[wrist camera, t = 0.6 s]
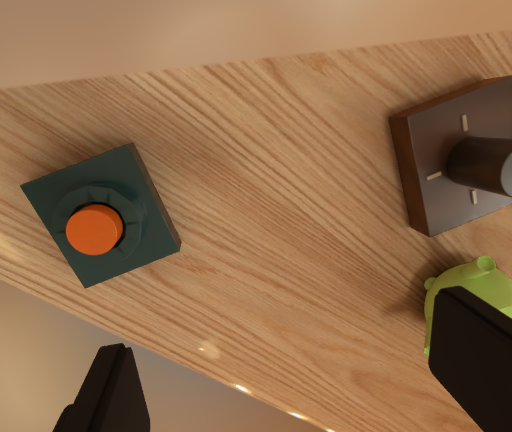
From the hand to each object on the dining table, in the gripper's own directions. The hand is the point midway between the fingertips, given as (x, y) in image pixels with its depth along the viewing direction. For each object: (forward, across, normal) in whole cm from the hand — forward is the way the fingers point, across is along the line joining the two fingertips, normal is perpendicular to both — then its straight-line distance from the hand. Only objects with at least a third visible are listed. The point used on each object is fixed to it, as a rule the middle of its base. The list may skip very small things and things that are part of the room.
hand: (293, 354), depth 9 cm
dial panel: (+21, -22, -1) cm, 30 cm away
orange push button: (+18, +11, 0) cm, 21 cm away
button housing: (+21, +11, 0) cm, 24 cm away
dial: (+18, -21, -1) cm, 28 cm away
